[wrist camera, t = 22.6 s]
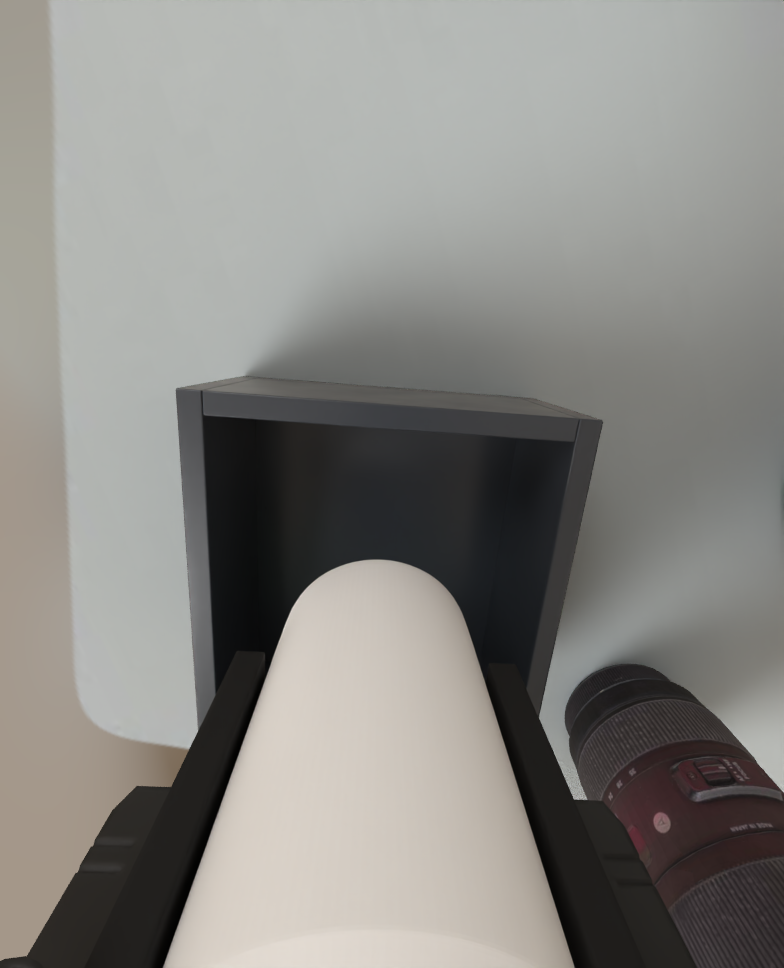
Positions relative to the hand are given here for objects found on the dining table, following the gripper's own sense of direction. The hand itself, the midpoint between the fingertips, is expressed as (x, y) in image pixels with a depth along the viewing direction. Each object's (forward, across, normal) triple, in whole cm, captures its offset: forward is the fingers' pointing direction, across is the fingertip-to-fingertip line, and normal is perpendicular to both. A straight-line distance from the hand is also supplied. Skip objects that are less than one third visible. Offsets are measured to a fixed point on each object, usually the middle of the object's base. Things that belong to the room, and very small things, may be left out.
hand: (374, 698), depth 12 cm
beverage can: (+4, 0, 0) cm, 4 cm away
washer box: (+11, 0, 0) cm, 11 cm away
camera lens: (+11, +15, -10) cm, 21 cm away
